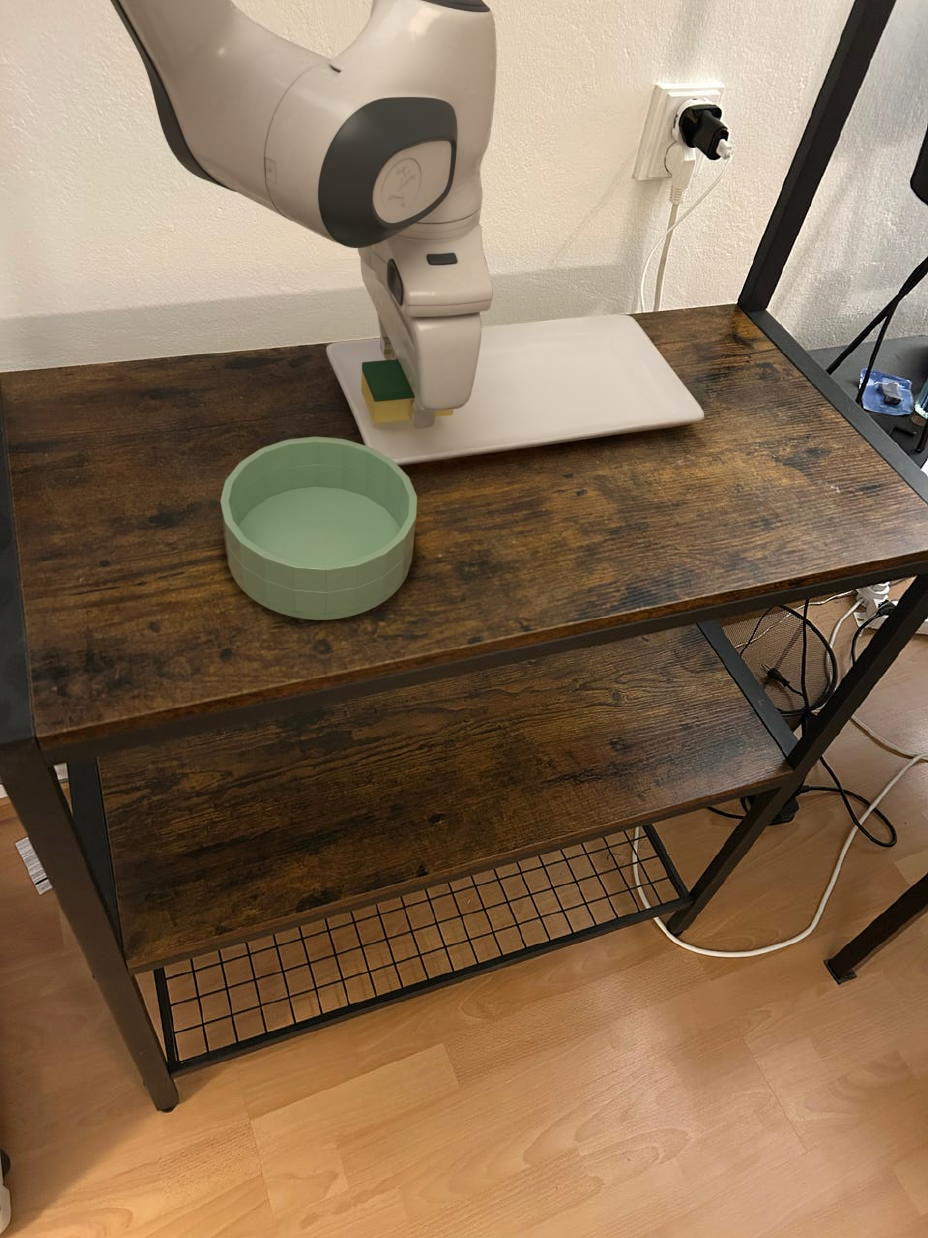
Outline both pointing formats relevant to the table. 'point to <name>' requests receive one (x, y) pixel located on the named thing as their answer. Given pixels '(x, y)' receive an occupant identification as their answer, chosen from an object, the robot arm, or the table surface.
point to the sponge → (388, 391)
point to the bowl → (318, 527)
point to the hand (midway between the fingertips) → (405, 387)
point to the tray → (534, 390)
